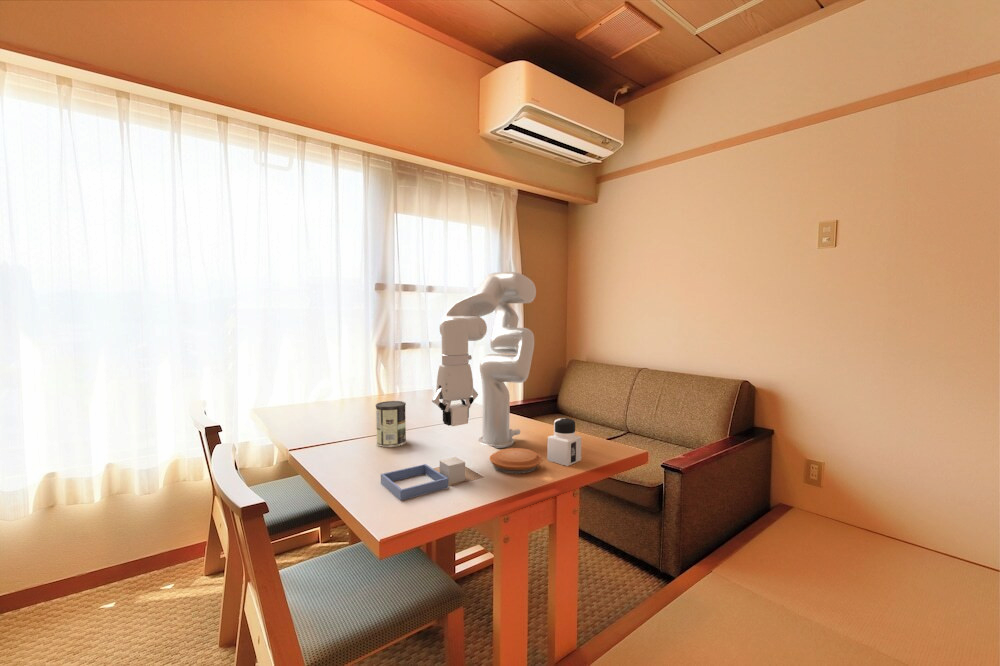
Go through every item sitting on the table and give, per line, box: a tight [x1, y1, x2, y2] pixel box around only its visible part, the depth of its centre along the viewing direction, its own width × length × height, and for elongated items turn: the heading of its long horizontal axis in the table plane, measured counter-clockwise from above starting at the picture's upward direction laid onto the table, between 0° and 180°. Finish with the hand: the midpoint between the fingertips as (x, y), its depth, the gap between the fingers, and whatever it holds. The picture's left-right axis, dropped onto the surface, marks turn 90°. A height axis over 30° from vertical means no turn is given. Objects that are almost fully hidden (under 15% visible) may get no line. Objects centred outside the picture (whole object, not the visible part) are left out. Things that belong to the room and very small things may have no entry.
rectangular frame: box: [380, 463, 449, 501], centre depth 111 cm, size 13×13×4 cm
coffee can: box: [375, 400, 407, 448], centre depth 151 cm, size 10×10×14 cm
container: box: [546, 417, 582, 467], centre depth 133 cm, size 8×8×13 cm
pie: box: [489, 447, 543, 474], centre depth 126 cm, size 15×16×5 cm
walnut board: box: [432, 465, 484, 487], centre depth 120 cm, size 11×14×1 cm
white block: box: [449, 402, 469, 427], centre depth 123 cm, size 5×5×5 cm
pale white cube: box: [439, 456, 466, 485], centre depth 115 cm, size 5×5×5 cm
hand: (456, 422), depth 124 cm, fingers closed on white block, 5 cm apart
